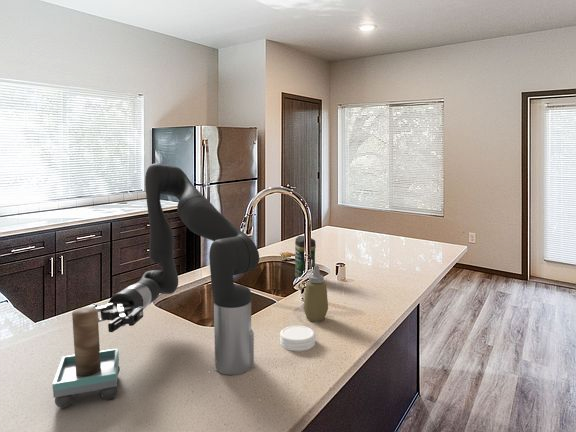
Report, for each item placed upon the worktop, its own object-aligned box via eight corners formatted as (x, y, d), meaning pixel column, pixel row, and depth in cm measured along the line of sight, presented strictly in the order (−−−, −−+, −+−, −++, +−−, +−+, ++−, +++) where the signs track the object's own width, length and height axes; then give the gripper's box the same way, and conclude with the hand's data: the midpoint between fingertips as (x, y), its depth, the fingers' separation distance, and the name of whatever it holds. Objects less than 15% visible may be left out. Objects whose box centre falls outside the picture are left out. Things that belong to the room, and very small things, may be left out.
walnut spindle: (101, 363, 94) (98, 306, 91) (99, 374, 89) (96, 314, 87) (77, 366, 92) (73, 308, 90) (74, 378, 87) (70, 317, 85)
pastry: (295, 257, 210) (295, 250, 210) (299, 260, 204) (300, 253, 203) (278, 258, 207) (278, 251, 207) (282, 262, 201) (282, 254, 200)
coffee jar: (292, 276, 177) (293, 234, 174) (309, 274, 179) (310, 234, 177) (299, 283, 168) (300, 239, 165) (317, 281, 170) (318, 238, 167)
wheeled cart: (120, 372, 99) (118, 347, 98) (118, 400, 88) (116, 373, 87) (63, 381, 95) (61, 356, 94) (54, 413, 83) (51, 384, 82)
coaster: (308, 334, 121) (308, 323, 121) (320, 349, 112) (320, 337, 111) (276, 338, 118) (276, 327, 118) (285, 354, 109) (285, 342, 108)
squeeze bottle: (329, 323, 128) (330, 269, 125) (303, 323, 128) (304, 268, 125) (326, 313, 136) (328, 262, 133) (302, 313, 136) (303, 261, 133)
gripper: (105, 286, 107) (62, 309, 92) (155, 289, 105) (120, 313, 89) (107, 312, 109) (65, 340, 93) (156, 316, 106) (122, 345, 91)
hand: (92, 326), depth 91 cm, fingers open, 8 cm apart
